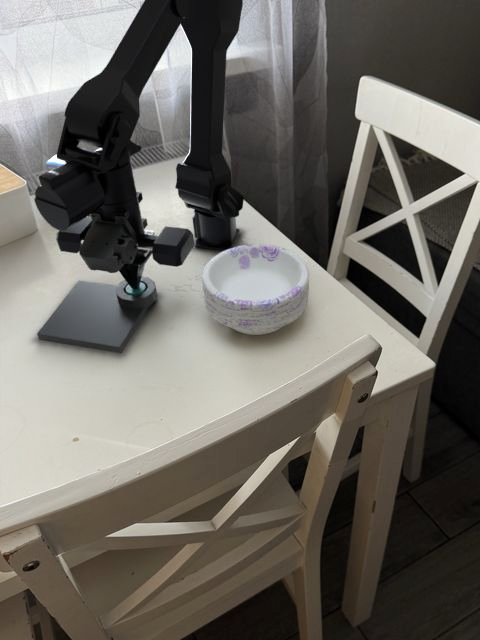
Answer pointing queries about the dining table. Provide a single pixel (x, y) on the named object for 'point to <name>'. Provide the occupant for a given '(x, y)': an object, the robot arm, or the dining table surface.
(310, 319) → the dining table surface
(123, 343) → the scale
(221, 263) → the paper bowls
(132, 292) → the tare button
